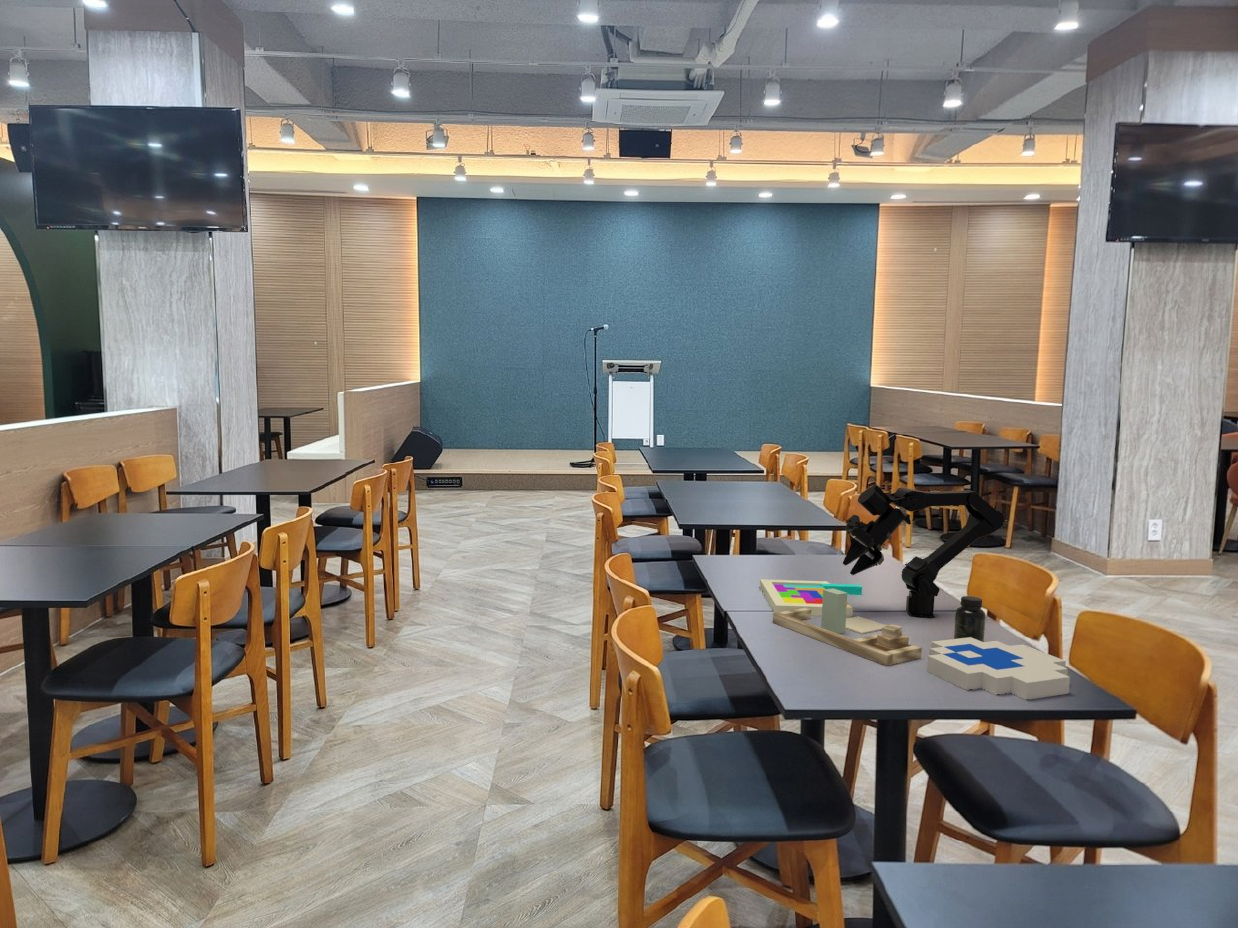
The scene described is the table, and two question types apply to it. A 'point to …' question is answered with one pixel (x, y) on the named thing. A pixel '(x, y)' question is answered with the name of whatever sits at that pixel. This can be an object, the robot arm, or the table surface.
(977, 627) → the supplement bottle
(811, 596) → the puzzle game
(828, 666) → the table surface
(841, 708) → the table surface
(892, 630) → the offcut maple
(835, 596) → the tall green pillar
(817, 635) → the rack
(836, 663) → the table surface
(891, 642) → the offcut oak
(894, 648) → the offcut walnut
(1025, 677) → the pixel art tile
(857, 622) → the mat
